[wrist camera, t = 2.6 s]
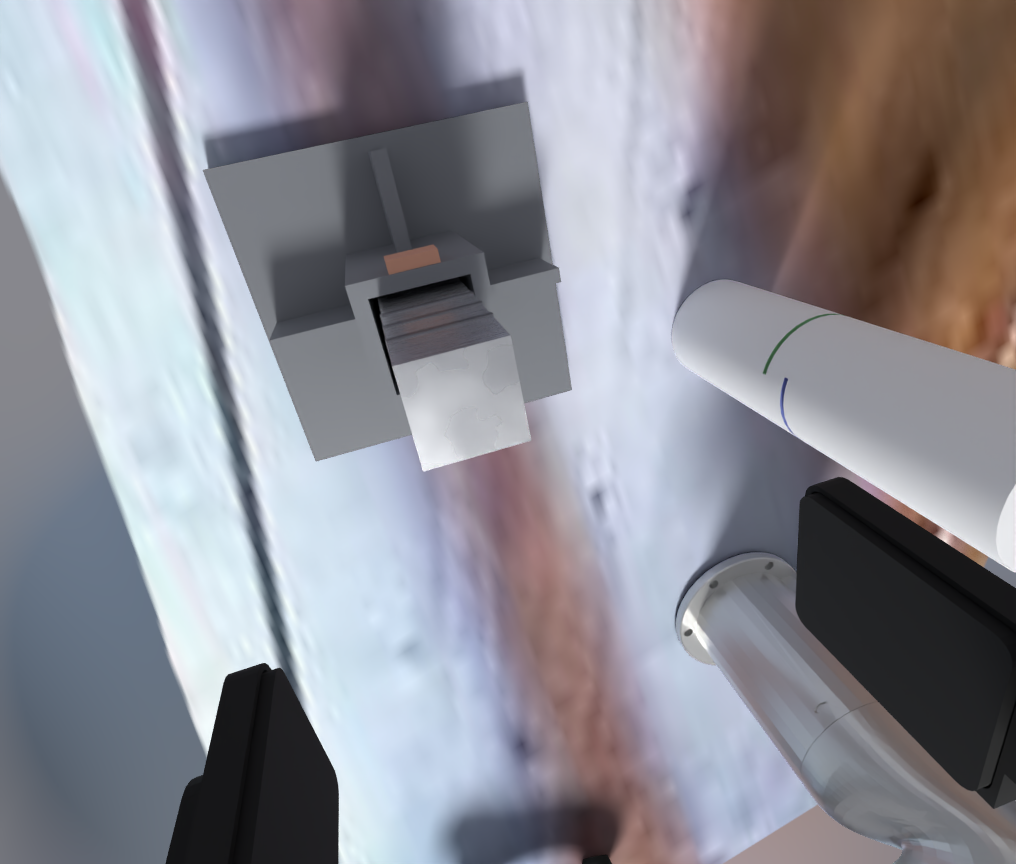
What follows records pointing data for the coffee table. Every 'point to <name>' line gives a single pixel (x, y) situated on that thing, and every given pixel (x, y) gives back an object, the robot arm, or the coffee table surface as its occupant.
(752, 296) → the cylindrical container
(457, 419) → the steel post
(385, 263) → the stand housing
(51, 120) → the coffee table surface
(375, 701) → the coffee table surface
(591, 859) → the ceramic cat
